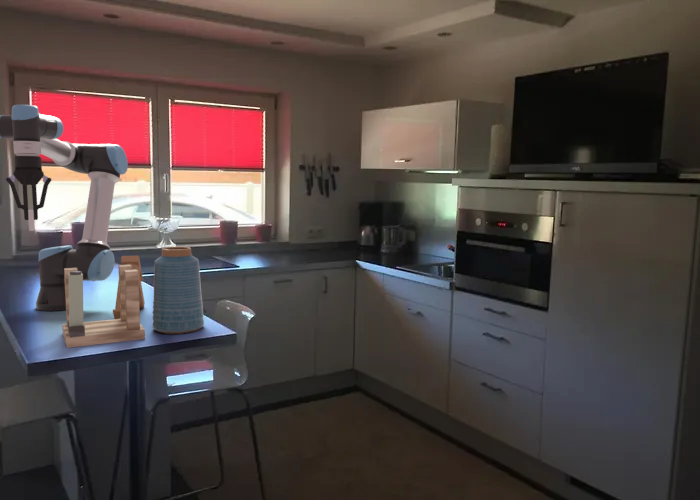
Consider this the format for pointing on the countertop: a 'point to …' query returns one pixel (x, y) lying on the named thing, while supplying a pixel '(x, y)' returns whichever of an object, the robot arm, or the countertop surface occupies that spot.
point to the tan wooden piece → (135, 264)
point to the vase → (177, 292)
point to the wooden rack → (109, 329)
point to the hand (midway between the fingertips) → (31, 230)
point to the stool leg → (75, 298)
